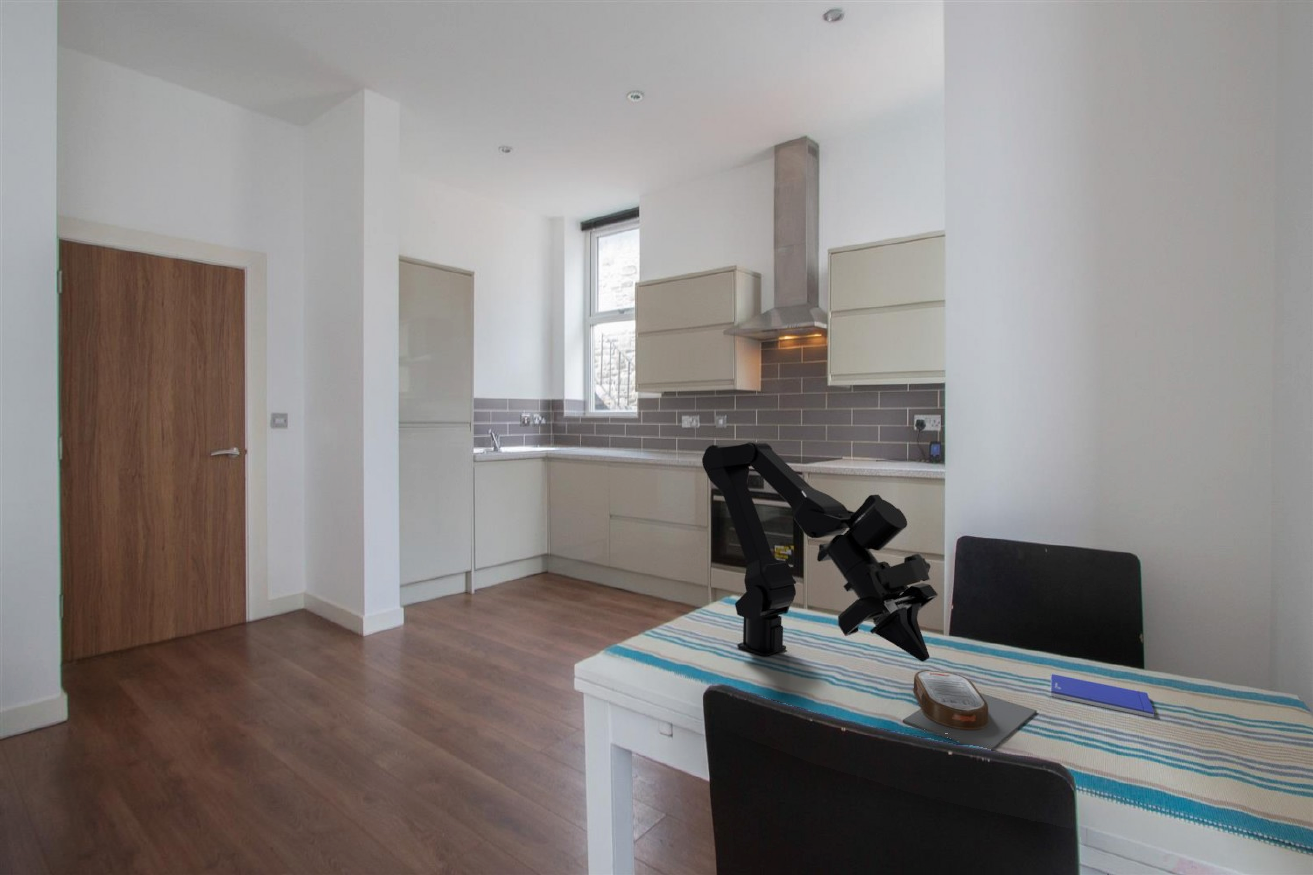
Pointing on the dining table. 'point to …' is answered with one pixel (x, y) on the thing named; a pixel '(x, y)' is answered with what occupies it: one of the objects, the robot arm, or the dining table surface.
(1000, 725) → the mat
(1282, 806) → the dining table surface
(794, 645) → the dining table surface
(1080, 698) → the hard drive
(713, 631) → the dining table surface
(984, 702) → the tin
